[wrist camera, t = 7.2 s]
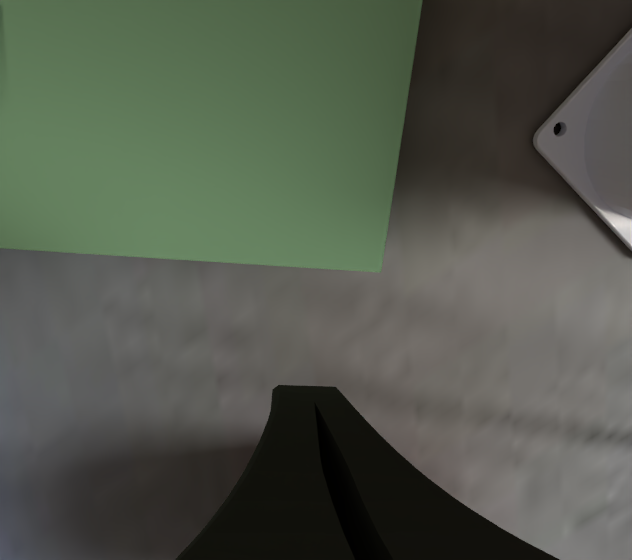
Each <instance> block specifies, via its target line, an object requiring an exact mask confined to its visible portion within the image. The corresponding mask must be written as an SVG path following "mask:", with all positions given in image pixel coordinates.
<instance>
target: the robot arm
mask: <svg viewBox="0 0 632 560" xmlns="http://www.w3.org/2000/svg"><path fill="white" fill-rule="evenodd" d="M558 122H559V123H560V125H561V130H560V132H559V133H558V134H557V135H555V134H554V132H553V130H554V126H555V125H556V124H557V123H558ZM533 145H534V147H535V149H536V150H537V151H538V152H539V153H540V154H541V155H542V156H543V157H544V158H545V159H546V161H547V162H548V163H549V164H550V165H551V166H552V167H553V168H554V169H555V170H556V171H557V172H558V173H559V174H560V175H561V177H562V178H563V179H564V180H565V181H566V182H567V183H568V184H569V185H570V186H571V187H572V188H573V189H574V190H575V191H576V193H577V194H578V195H579V196H580V197H581V198H582V199H583V200H584V201H585V202H586V203H587V204H588V205H589V206H590V207H591V208H592V210H593V211H594V212H595V213H596V214H597V215H598V216H599V217H600V218H601V219H602V220H603V221H604V222H605V223H606V224H607V226H608V227H609V228H610V229H611V230H612V231H613V232H614V233H615V234H616V235H617V236H618V237H619V238H620V239H621V240H622V242H623V243H624V244H625V245H626V246H627V247H628V248H629V249H630V250H631V251H632V28H631V29H630V30H629V31H628V33H627V34H626V35H625V36H624V37H623V38H622V39H621V40H620V41H619V42H618V43H617V44H616V45H615V47H614V48H613V49H612V50H611V51H610V52H609V53H608V54H607V55H606V56H605V57H604V58H603V60H602V61H601V62H600V63H599V64H598V65H597V66H596V67H595V68H594V69H593V70H592V71H591V73H590V74H589V75H588V76H587V77H586V78H585V79H584V80H583V81H582V82H581V83H580V84H579V86H578V87H577V88H576V89H575V90H574V91H573V92H572V93H571V94H570V95H569V96H568V97H567V99H566V100H565V101H564V102H563V103H562V104H561V105H560V106H559V107H558V108H557V109H556V110H555V111H554V113H553V114H552V115H551V116H550V117H549V118H548V119H547V120H546V121H545V122H544V123H543V124H542V126H541V127H540V128H539V129H538V130H537V131H536V133H535V134H534V138H533ZM176 560H559V559H557V558H555V557H554V556H552V555H550V554H548V553H546V552H544V551H542V550H540V549H538V548H536V547H534V546H532V545H530V544H528V543H526V542H525V541H523V540H521V539H519V538H517V537H516V536H514V535H512V534H510V533H509V532H507V531H505V530H503V529H502V528H500V527H498V526H497V525H495V524H494V523H492V522H490V521H489V520H487V519H486V518H484V517H482V516H481V515H479V514H478V513H476V512H474V511H473V510H471V509H470V508H468V507H467V506H465V505H464V504H462V503H461V502H459V501H458V500H456V499H455V498H454V497H452V496H451V495H450V494H448V493H447V492H446V491H444V490H443V489H442V488H440V487H439V486H438V485H436V484H435V483H434V482H432V481H431V480H430V479H428V478H427V477H426V476H425V475H423V474H422V473H421V472H420V471H418V470H417V469H416V468H415V467H414V466H413V465H412V464H410V463H409V462H408V461H407V460H406V459H405V458H404V457H403V456H401V455H400V454H399V453H398V452H397V451H396V450H395V449H394V448H393V447H392V446H391V445H390V444H389V443H388V442H386V441H385V440H384V439H383V438H382V437H381V436H380V435H379V434H378V433H377V431H376V430H375V429H374V428H373V427H372V426H371V425H370V424H369V423H368V422H367V421H366V420H365V419H364V418H363V417H362V416H361V415H360V413H359V412H358V411H357V410H356V409H355V408H354V407H353V406H352V405H351V403H350V402H349V401H348V400H347V399H346V398H345V397H344V396H343V394H342V393H341V392H340V391H339V390H338V389H337V388H336V387H323V386H290V385H278V386H277V387H276V388H274V389H273V392H272V403H271V412H270V415H269V419H268V421H267V424H266V427H265V429H264V432H263V434H262V437H261V439H260V441H259V444H258V446H257V448H256V450H255V452H254V454H253V455H252V457H251V459H250V461H249V463H248V465H247V467H246V469H245V471H244V472H243V474H242V476H241V477H240V479H239V481H238V482H237V484H236V485H235V487H234V488H233V490H232V491H231V493H230V495H229V496H228V497H227V499H226V500H225V502H224V503H223V504H222V506H221V507H220V508H219V510H218V511H217V512H216V514H215V515H214V516H213V518H212V519H211V520H210V522H209V523H208V524H207V525H206V526H205V528H204V529H203V530H202V531H201V532H200V534H199V535H198V536H197V537H196V538H195V539H194V540H193V541H192V542H191V543H190V545H189V546H188V547H187V548H186V549H185V550H184V551H183V552H182V553H181V554H180V555H179V556H178V557H177V558H176Z"/></svg>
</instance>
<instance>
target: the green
mask: <svg viewBox="0 0 632 560" xmlns="http://www.w3.org/2000/svg"><path fill="white" fill-rule="evenodd" d="M422 1H423V0H0V248H5V249H21V250H37V251H52V252H68V253H84V254H99V255H115V256H131V257H147V258H162V259H178V260H194V261H209V262H225V263H241V264H256V265H272V266H288V267H303V268H319V269H335V270H350V271H366V272H381V269H382V263H383V256H384V250H385V243H386V237H387V230H388V224H389V217H390V210H391V204H392V197H393V191H394V184H395V178H396V171H397V165H398V158H399V152H400V145H401V139H402V132H403V125H404V119H405V112H406V106H407V99H408V93H409V86H410V80H411V73H412V67H413V60H414V54H415V47H416V40H417V34H418V27H419V21H420V14H421V8H422Z"/></svg>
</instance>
